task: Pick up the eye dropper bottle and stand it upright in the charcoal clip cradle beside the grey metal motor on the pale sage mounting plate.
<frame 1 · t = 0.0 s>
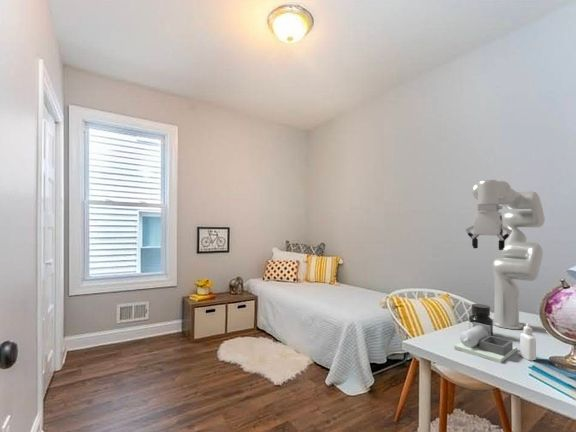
hand: (487, 249, 133), 37 cm above the table, tool pointing down, fingers open, 9 cm apart
motor mount: (485, 349, 118), on the table
eye dropper bottle: (527, 358, 111), on the table
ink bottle: (480, 334, 135), on the table
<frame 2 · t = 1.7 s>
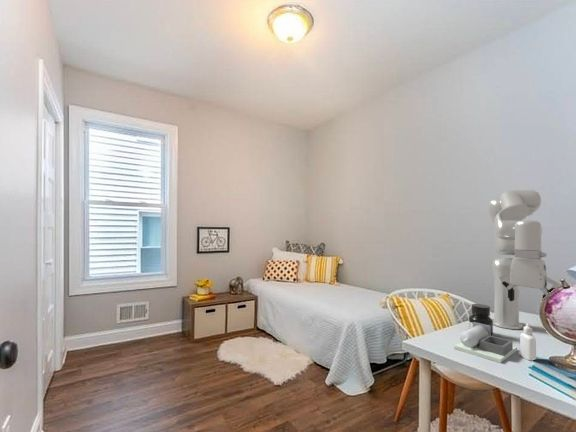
hand: (527, 303, 111), 19 cm above the table, tool pointing down, fingers open, 9 cm apart
nothing on the table moved.
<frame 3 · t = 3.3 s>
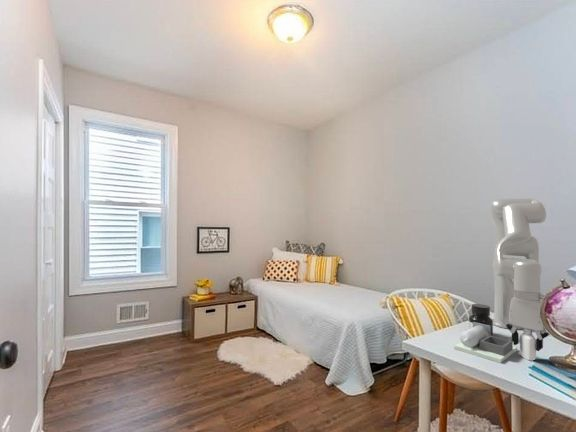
hand: (527, 346, 111), 4 cm above the table, tool pointing down, fingers open, 5 cm apart
nothing on the table moved.
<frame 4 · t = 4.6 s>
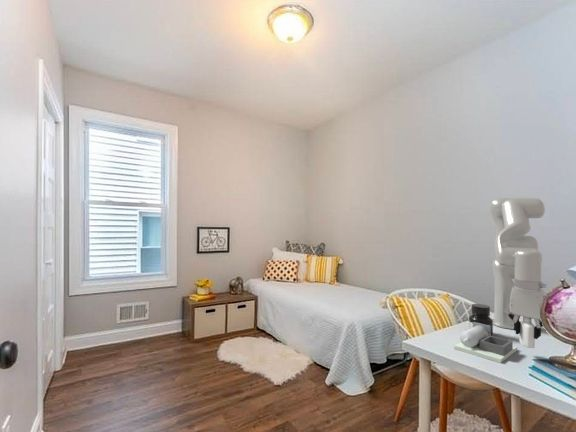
hand: (527, 335, 112), 8 cm above the table, tool pointing down, fingers closed on eye dropper bottle, 4 cm apart
eye dropper bottle: (526, 345, 113), point 4 cm above the table, touching gripper
everything else where it was.
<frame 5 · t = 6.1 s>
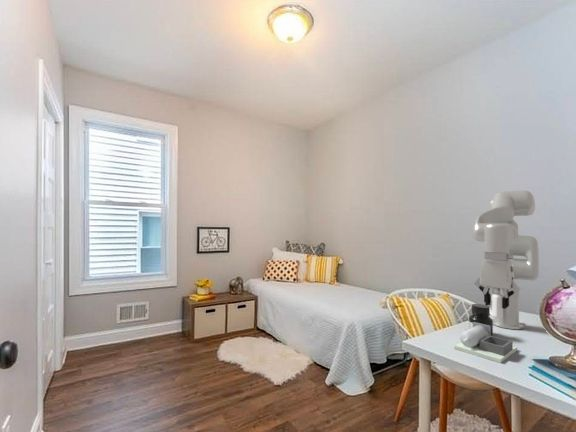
hand: (496, 305, 116), 17 cm above the table, tool pointing down, fingers closed on eye dropper bottle, 4 cm apart
eye dropper bottle: (496, 316, 116), point 13 cm above the table, touching gripper
everything else where it was.
when the fingers open (6 cm above the table, at t = 8.5 s): eye dropper bottle stays where it is, resting on motor mount.
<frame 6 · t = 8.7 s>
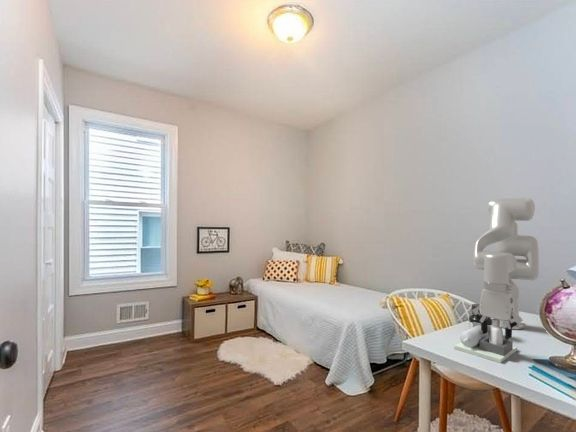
hand: (496, 335, 115), 6 cm above the table, tool pointing down, fingers open, 6 cm apart
eye dropper bottle: (495, 349, 116), point 1 cm above the table, touching motor mount
everything else where it was.
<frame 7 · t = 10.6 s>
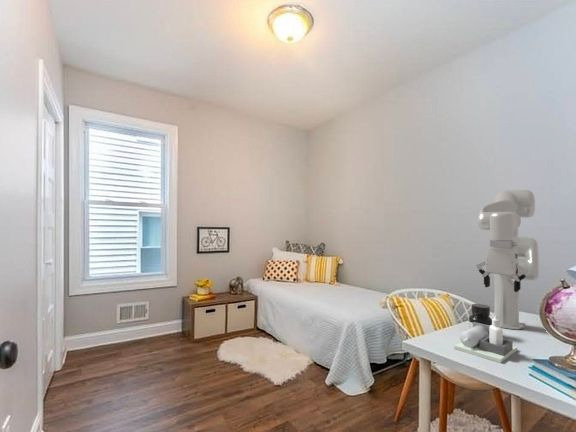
hand: (501, 289, 121), 22 cm above the table, tool pointing down, fingers open, 9 cm apart
nothing on the table moved.
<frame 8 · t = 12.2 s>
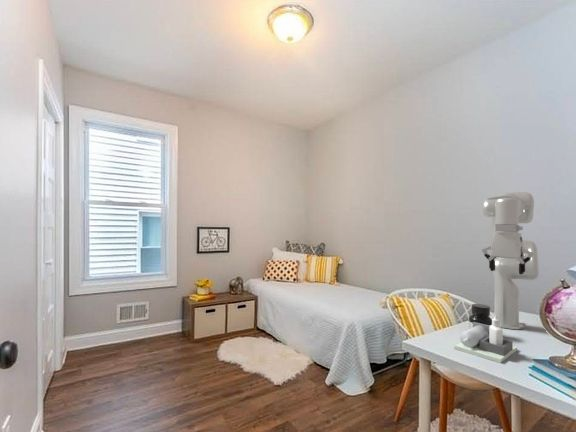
hand: (506, 272, 124), 28 cm above the table, tool pointing down, fingers open, 9 cm apart
nothing on the table moved.
at the end: eye dropper bottle 0.5 cm from the target spot on the motor mount, point 1.0 cm above the motor mount's base; eye dropper bottle tilted 0°; the gripper is holding nothing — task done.
